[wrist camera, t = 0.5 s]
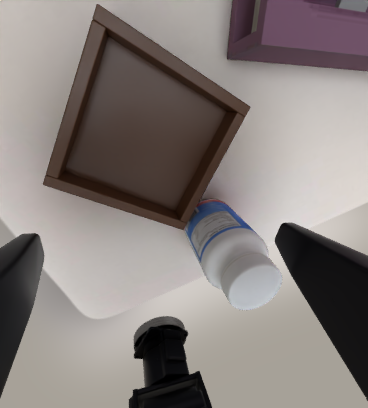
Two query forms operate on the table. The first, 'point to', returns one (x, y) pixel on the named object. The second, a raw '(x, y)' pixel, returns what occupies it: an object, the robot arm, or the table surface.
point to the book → (301, 32)
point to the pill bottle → (232, 255)
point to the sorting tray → (140, 126)
